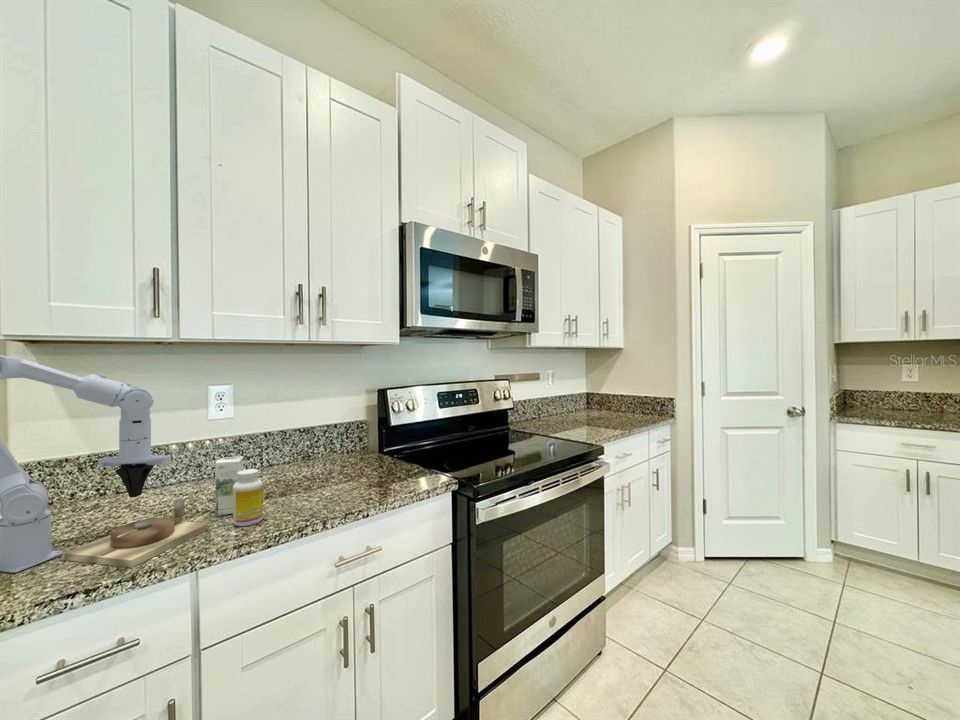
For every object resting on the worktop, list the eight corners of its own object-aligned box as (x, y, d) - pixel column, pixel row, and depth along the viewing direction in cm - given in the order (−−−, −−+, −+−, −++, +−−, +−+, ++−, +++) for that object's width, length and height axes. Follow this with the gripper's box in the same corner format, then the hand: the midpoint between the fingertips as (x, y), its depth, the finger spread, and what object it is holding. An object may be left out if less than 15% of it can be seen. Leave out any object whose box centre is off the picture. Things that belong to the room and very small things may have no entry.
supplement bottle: (267, 521, 103) (266, 471, 103) (238, 529, 98) (237, 476, 98) (257, 514, 108) (256, 466, 108) (229, 522, 103) (228, 471, 103)
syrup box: (244, 506, 114) (243, 455, 113) (240, 514, 108) (239, 460, 108) (220, 509, 111) (219, 457, 111) (215, 517, 106) (214, 462, 106)
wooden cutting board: (64, 560, 84) (64, 552, 84) (150, 524, 101) (150, 518, 101) (131, 567, 80) (131, 559, 80) (208, 529, 98) (208, 523, 98)
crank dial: (137, 549, 84) (136, 525, 84) (97, 544, 87) (96, 520, 87) (201, 521, 99) (201, 500, 99) (165, 517, 101) (165, 496, 101)
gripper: (178, 434, 100) (179, 489, 100) (115, 436, 99) (115, 491, 99) (159, 440, 93) (159, 499, 93) (90, 441, 92) (90, 501, 92)
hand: (135, 495), depth 96 cm, fingers closed
